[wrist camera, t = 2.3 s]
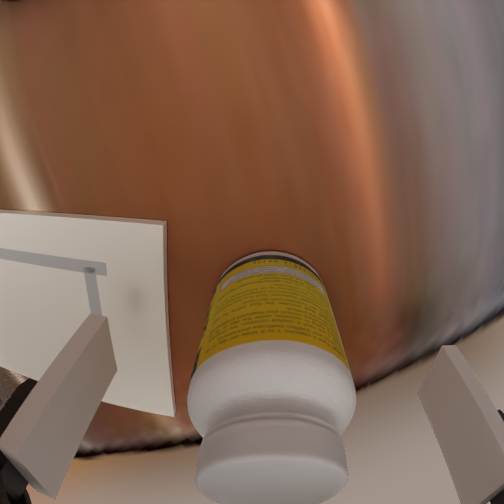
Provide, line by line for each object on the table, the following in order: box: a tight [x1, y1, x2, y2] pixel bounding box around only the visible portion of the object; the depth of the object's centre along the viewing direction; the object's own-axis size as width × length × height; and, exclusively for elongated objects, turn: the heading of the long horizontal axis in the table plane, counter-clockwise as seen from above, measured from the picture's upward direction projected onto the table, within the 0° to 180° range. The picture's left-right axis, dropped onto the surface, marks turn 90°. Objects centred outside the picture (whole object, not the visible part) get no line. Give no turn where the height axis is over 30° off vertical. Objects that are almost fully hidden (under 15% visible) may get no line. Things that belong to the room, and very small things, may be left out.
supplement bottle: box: [187, 251, 356, 504], centre depth 11 cm, size 5×5×10 cm
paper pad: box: [0, 209, 176, 417], centre depth 16 cm, size 20×13×1 cm, turn 85°
